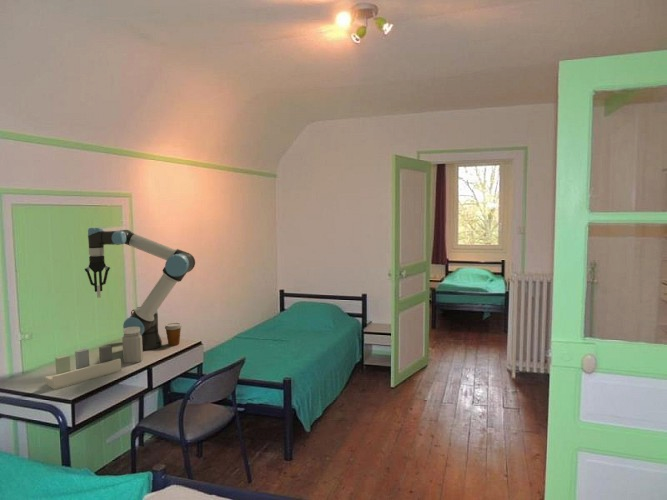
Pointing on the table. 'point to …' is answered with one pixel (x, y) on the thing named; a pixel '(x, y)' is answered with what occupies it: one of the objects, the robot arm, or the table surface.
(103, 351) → the key charcoal
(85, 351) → the key slate
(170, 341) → the disposable coffee cup
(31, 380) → the table surface
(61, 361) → the key sage
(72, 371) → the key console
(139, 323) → the robot arm
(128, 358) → the jar
